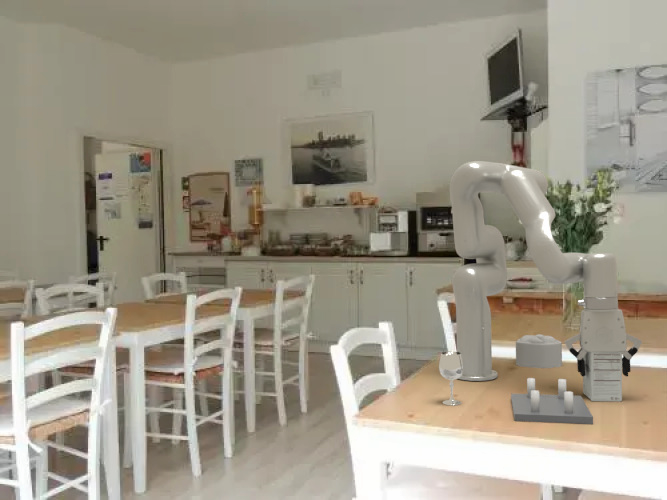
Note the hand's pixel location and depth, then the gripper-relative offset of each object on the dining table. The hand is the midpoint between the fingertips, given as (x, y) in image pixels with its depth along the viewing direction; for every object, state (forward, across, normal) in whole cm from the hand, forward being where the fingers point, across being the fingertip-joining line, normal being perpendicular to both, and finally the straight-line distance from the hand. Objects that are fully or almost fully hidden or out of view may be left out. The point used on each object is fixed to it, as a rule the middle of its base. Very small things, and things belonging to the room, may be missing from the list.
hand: (603, 375), depth 161 cm
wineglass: (+5, -36, -8) cm, 37 cm away
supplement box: (+6, 0, +1) cm, 6 cm away
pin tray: (+6, -14, -12) cm, 20 cm away
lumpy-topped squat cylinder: (+5, -12, +40) cm, 42 cm away
